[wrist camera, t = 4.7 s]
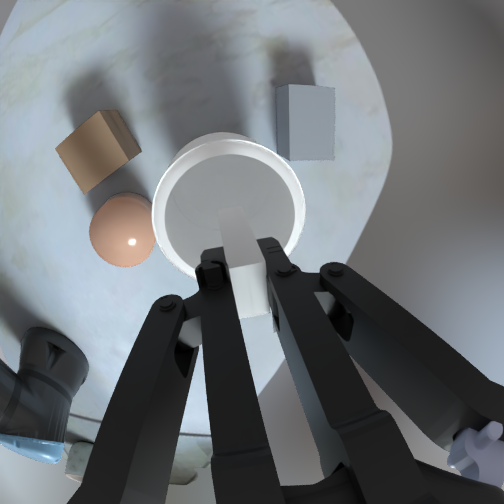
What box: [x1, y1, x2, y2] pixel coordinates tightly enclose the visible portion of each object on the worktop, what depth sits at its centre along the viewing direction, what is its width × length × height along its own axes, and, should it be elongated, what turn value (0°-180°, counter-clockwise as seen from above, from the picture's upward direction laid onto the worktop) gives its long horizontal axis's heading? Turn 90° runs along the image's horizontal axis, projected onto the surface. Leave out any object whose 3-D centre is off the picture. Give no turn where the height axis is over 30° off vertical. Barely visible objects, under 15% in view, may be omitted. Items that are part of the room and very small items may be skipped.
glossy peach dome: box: [89, 192, 156, 267], centre depth 30 cm, size 8×8×4 cm
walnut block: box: [55, 110, 142, 195], centre depth 24 cm, size 6×6×6 cm
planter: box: [65, 442, 94, 483], centre depth 57 cm, size 17×17×15 cm
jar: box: [152, 132, 306, 280], centre depth 24 cm, size 11×10×15 cm
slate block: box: [276, 84, 335, 161], centre depth 27 cm, size 5×8×5 cm, turn 2°
